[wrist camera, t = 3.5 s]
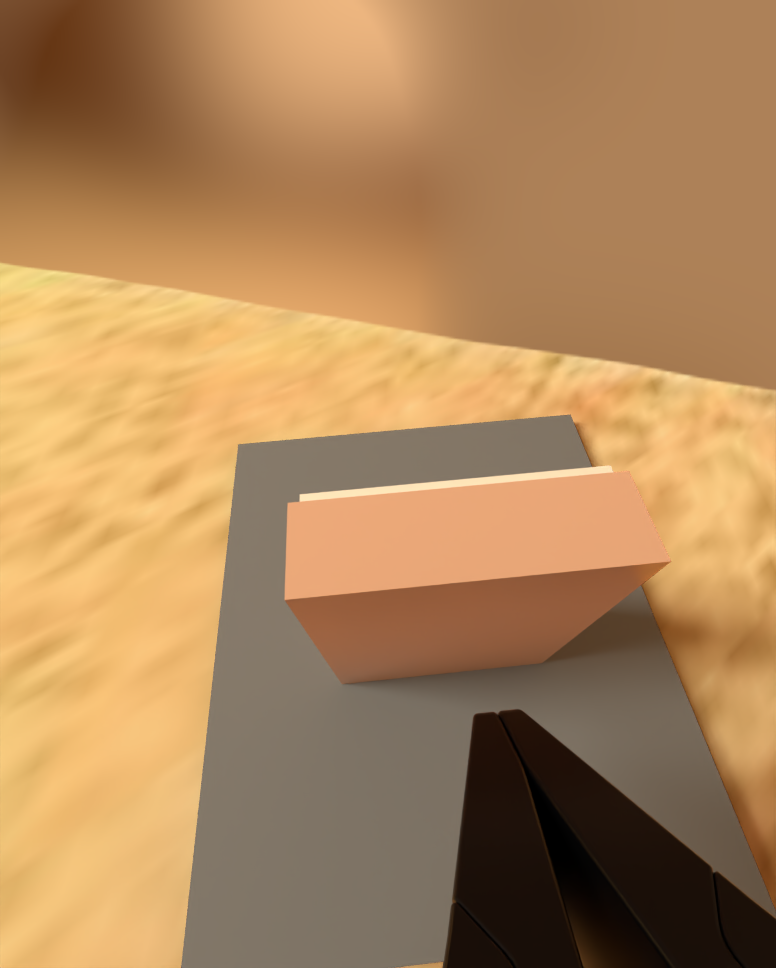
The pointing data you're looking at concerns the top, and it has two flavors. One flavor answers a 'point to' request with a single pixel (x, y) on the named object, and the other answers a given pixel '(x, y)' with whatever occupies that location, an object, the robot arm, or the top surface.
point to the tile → (464, 569)
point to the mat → (403, 731)
